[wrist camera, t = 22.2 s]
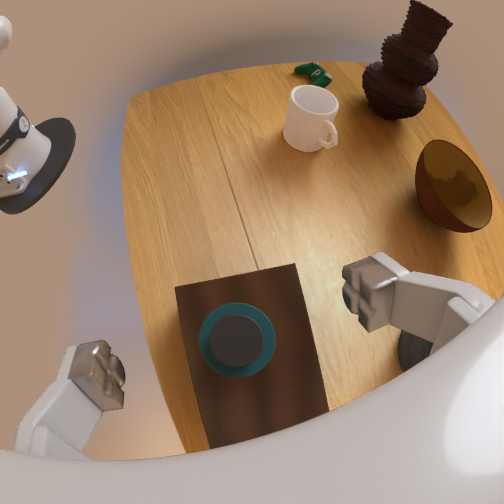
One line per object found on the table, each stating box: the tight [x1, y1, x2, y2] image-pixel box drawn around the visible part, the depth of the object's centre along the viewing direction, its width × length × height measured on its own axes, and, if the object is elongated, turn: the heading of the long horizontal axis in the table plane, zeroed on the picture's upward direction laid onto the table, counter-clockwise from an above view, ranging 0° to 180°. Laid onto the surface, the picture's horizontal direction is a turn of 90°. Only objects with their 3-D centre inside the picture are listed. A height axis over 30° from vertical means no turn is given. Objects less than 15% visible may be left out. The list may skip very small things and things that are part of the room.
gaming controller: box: [294, 61, 332, 88], centre depth 52 cm, size 9×4×6 cm
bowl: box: [415, 140, 492, 233], centre depth 39 cm, size 18×18×10 cm
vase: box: [362, 0, 453, 121], centre depth 38 cm, size 15×15×30 cm
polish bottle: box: [199, 303, 276, 378], centre depth 22 cm, size 5×5×14 cm
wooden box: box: [175, 263, 329, 449], centre depth 31 cm, size 14×20×8 cm
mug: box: [283, 85, 339, 152], centre depth 42 cm, size 8×12×10 cm, turn 23°
